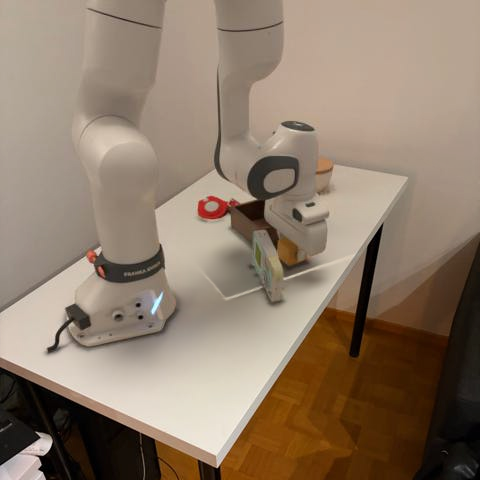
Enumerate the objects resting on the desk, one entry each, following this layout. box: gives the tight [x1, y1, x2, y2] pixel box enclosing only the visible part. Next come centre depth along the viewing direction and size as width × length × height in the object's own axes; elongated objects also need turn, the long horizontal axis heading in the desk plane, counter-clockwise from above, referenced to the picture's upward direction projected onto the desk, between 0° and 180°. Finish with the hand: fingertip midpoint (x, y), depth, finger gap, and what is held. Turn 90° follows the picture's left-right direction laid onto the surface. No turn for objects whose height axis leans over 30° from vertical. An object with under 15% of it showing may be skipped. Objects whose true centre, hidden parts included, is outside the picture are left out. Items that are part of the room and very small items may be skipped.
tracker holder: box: [197, 195, 242, 220], centre depth 134 cm, size 12×4×10 cm
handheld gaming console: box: [251, 230, 285, 303], centre depth 105 cm, size 11×3×15 cm
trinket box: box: [315, 156, 334, 193], centre depth 142 cm, size 11×11×9 cm
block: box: [276, 238, 308, 266], centre depth 113 cm, size 5×5×5 cm
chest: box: [229, 198, 279, 247], centre depth 123 cm, size 16×15×6 cm
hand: (291, 253), depth 114 cm, fingers closed on block, 5 cm apart
